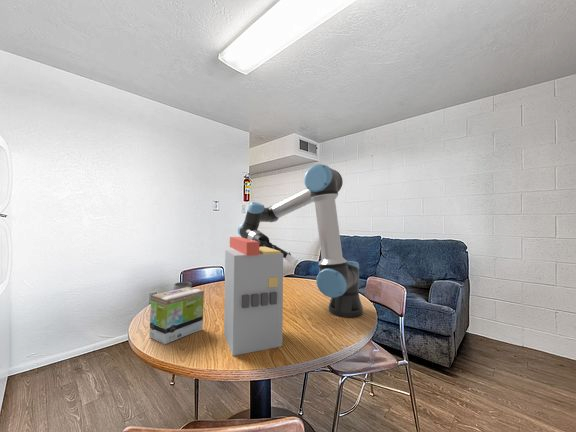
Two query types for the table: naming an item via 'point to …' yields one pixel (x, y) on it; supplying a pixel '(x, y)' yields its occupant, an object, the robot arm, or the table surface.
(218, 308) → the table surface
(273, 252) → the ochre pad
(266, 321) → the breaker panel
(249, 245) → the bar
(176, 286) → the cup
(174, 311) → the tea box
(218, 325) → the table surface
